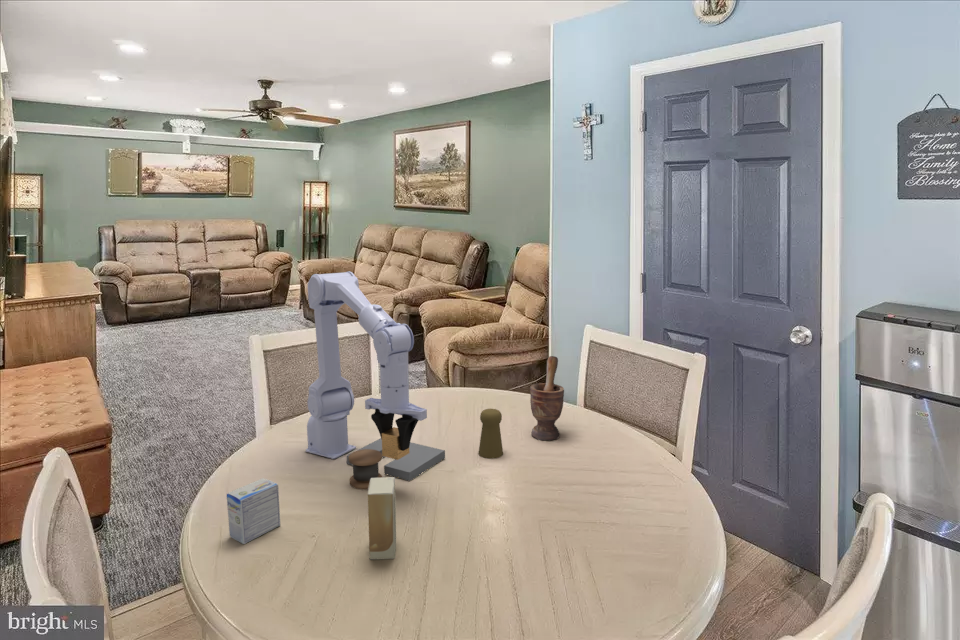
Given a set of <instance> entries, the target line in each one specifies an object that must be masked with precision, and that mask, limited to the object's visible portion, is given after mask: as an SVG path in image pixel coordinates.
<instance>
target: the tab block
mask: <svg viewBox="0 0 960 640" xmlns="http://www.w3.org/2000/svg"><path fill="white" fill-rule="evenodd" d="M407 454H409V448H408V449H406V450H404V451H402V450H401V449H400V438H399V431H398V427H395V426H394V427H393V426H392V428H391V429H389V430H387V431H385V432H383V433H382V456H385V458H388V459H389V458H390V459H393V460H395V459H396V460H398V459H400V458H402V457H404V456H405V455H407Z"/></svg>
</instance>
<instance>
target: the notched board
mask: <svg viewBox="0 0 960 640" xmlns="http://www.w3.org/2000/svg"><path fill="white" fill-rule="evenodd" d="M364 449H372V450H377V451H379V452H381V454H382V439H381V437H380V438H379V439H377V440H375V441H372V442H371V443H369V444H367V445H365V446H363V447H361V448H358V449H357V450H356V451H358V450H364ZM350 454H351V453H349V454H346V464H347V465H350V466H353V464H351V463H350V462H349V455H350ZM382 457H383V458H384V456H382ZM444 458H445V459H446V451H445V450H444V449H440V448H437V447H432V446H427V445H424V444H419V443H416V442H413V441H410V446H409V454H407V455H405V456H404V457H402V458H400V459H398V460H396V459H393V460H391V461H390V462H388V463H386V464H384V466H383V471H384V472H383V473H385V474H384V475H386V474H388V475H387V476H390V475H391V476H390V477H393V476H395V478H397V477H399V478H398V479H400V478H402V479H401V480H404V479H405V481H408V480H409V481H408V482H410V480H411V481H412V480H414V479H415V478H417V477H419V476H420V475H421V473H422V472H423V473H425V472H426V471H428V470H429V469H431V468H432V467H434V466H435V465H437V464H438V462H439V463H440V462H441V460H442V459H443V460H445V459H444ZM443 460H442V461H443ZM436 463H437V464H436ZM433 465H434V466H433ZM430 467H431V468H430ZM427 469H428V470H427ZM424 471H425V472H424ZM423 473H422V474H423ZM419 474H420V475H419ZM416 476H417V477H416ZM413 478H414V479H413Z"/></svg>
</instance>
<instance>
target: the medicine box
mask: <svg viewBox="0 0 960 640" xmlns="http://www.w3.org/2000/svg"><path fill="white" fill-rule="evenodd" d="M226 504H227V505H226V506H227V516H228V518H227V519H228V531H229V537H230V538H231V539H233V540H235V541H237V542H238V543H240V544H241V545H245V544H247V543H249V542H251V541H253V540H255V539H256V538H259V537H261V536H263V535H265V534H267V533H268V532H270V531H273V530H274V529H276V528H278V527H281V515H280V513H281V512H280V511H281V510H280V508H281V507H280V492H279V484H278V483H277V482H274V481H272V480H270V479H267V478H264V477H262V478H260V479H257V480H256V481H253V482H251V483H248V484H246V485H243V486H241V487H239V488H236V489H235V490H232V491H230V492H228V493H226Z"/></svg>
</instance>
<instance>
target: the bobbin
mask: <svg viewBox="0 0 960 640" xmlns="http://www.w3.org/2000/svg"><path fill="white" fill-rule="evenodd" d="M357 450H358V451H357ZM357 450H355V451H353V452H351V453H349V454H350V455H349V454H348V455H349V462H350V463H351V464H353V465H352V475H351V476H350V477H349V486H351V487H352V488H353V489H358V490H368V488H369V483H370V479H371V478H381V477H383V475H382V474H381V473H379V463H380V462H381V461H382V459H383V458H382V454H381V452H379V451H377V450H372V449H364V450H359V449H357Z"/></svg>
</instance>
